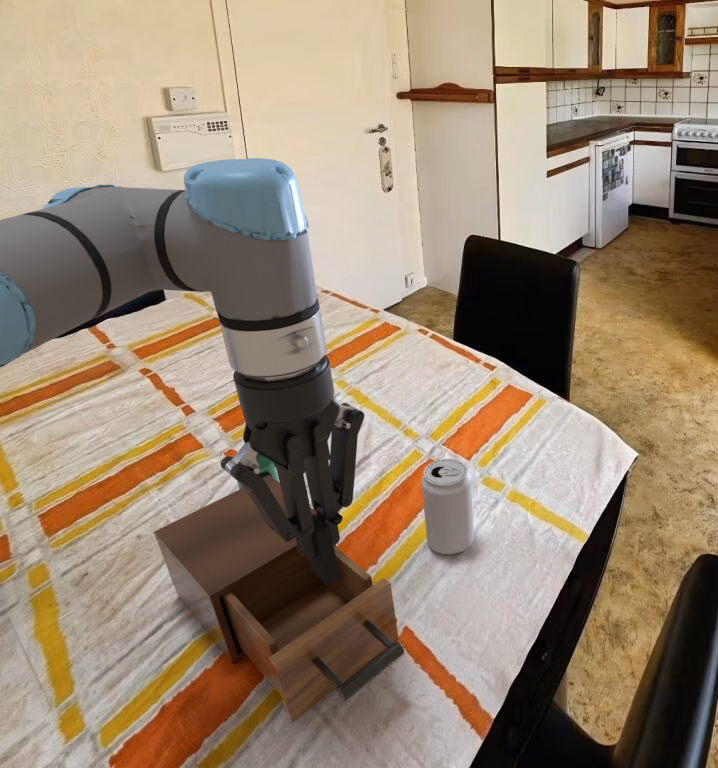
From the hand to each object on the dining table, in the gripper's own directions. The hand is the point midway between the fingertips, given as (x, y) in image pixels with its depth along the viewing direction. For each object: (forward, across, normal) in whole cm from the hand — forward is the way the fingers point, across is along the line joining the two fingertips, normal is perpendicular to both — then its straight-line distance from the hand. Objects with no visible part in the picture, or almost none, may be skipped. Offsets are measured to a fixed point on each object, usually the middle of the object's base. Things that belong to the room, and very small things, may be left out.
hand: (325, 573), depth 62 cm
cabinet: (+14, -1, +17) cm, 22 cm away
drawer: (+13, -1, +1) cm, 13 cm away
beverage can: (+14, +21, +5) cm, 26 cm away
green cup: (+14, +10, +36) cm, 39 cm away
